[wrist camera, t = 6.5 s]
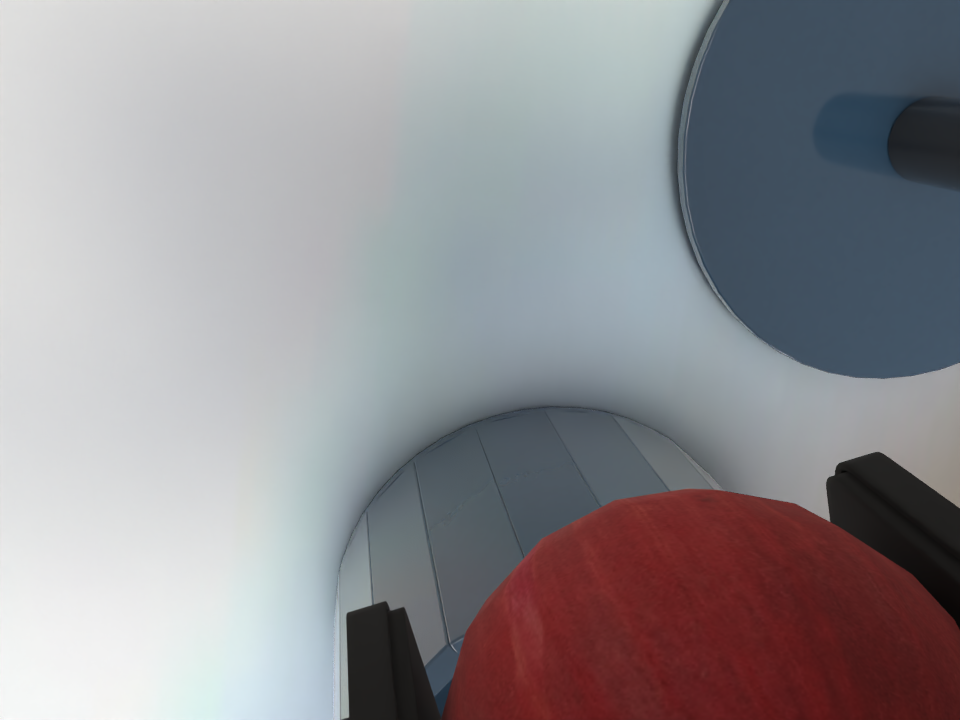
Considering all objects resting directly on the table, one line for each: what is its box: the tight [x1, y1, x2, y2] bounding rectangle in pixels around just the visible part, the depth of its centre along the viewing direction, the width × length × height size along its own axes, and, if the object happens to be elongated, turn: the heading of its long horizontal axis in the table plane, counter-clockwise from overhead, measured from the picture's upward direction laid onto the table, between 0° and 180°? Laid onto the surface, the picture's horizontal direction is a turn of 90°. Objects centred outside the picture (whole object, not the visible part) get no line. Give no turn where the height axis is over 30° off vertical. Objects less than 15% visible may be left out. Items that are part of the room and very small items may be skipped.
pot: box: [333, 407, 724, 720], centre depth 29 cm, size 16×16×11 cm
